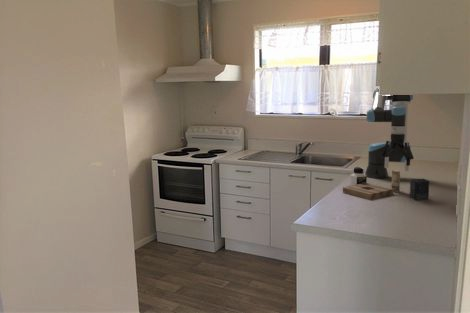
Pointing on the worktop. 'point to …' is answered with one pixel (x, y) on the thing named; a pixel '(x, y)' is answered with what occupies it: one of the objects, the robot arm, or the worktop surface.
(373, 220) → the worktop surface
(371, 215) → the worktop surface
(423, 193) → the box
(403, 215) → the worktop surface
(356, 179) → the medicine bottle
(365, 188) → the board
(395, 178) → the peg
